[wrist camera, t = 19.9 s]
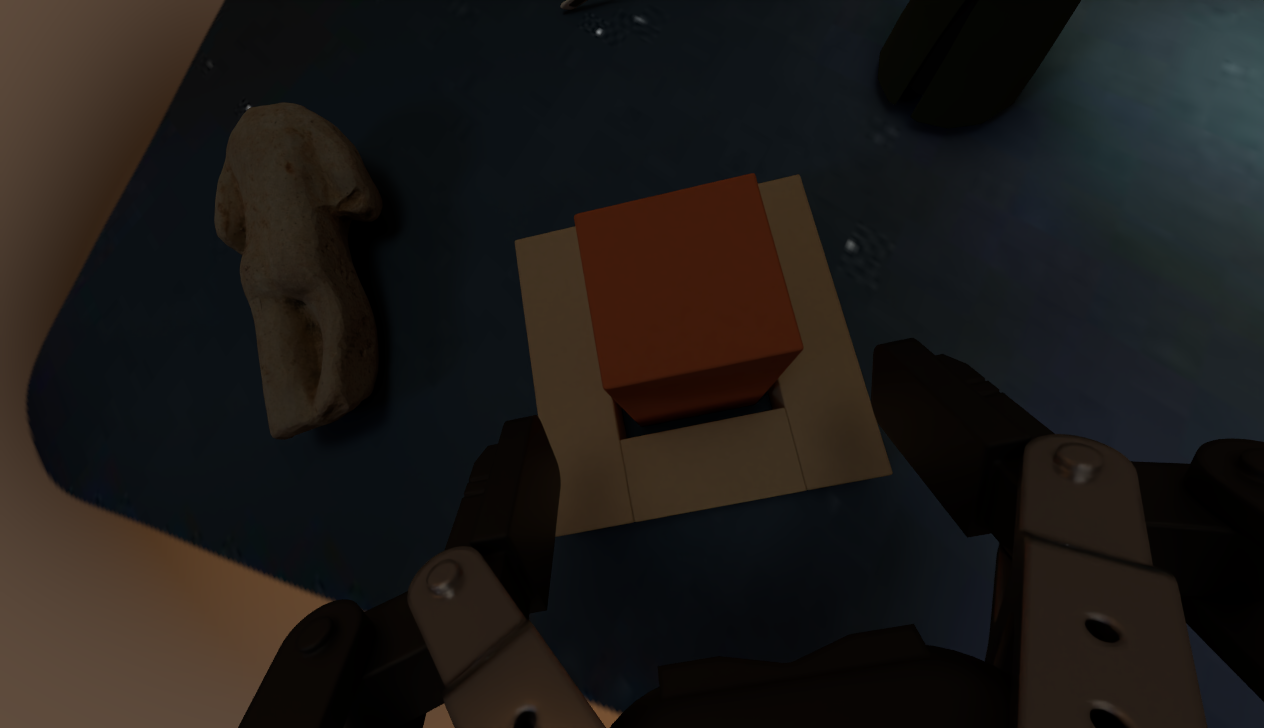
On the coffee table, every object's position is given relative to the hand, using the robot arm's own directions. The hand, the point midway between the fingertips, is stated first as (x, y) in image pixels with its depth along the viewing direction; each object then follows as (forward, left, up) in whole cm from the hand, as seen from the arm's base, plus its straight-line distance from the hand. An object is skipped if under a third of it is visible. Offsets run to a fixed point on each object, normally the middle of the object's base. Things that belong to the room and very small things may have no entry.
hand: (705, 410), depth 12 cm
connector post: (+2, +3, -9) cm, 10 cm away
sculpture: (-8, +17, -9) cm, 21 cm away
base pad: (+2, +3, -9) cm, 10 cm away
